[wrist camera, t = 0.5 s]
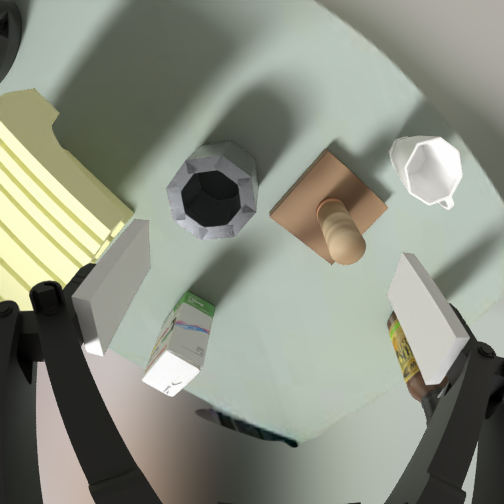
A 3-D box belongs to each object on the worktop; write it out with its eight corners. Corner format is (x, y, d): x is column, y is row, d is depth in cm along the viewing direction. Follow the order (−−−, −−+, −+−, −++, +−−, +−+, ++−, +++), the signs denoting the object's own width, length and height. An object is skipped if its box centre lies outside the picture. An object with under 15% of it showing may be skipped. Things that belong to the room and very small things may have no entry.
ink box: (187, 289, 44) (166, 349, 34) (216, 306, 46) (204, 369, 35) (161, 324, 48) (139, 382, 38) (188, 339, 49) (172, 399, 39)
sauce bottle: (406, 296, 44) (457, 403, 26) (428, 313, 45) (478, 413, 28) (376, 324, 46) (412, 435, 29) (400, 339, 48) (438, 441, 30)
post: (269, 212, 38) (270, 255, 29) (325, 148, 34) (347, 172, 25) (329, 258, 41) (345, 310, 32) (384, 203, 37) (417, 242, 28)
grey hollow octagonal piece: (175, 183, 37) (153, 207, 30) (214, 128, 34) (200, 139, 27) (229, 221, 39) (220, 253, 32) (271, 171, 36) (272, 193, 29)
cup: (409, 113, 32) (442, 122, 25) (449, 177, 35) (483, 199, 28) (366, 149, 34) (390, 166, 27) (410, 210, 37) (438, 238, 30)
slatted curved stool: (85, 83, 31) (-20, 98, 16) (176, 166, 36) (110, 230, 21) (3, 238, 42) (-65, 298, 26) (68, 300, 47) (15, 377, 31)
